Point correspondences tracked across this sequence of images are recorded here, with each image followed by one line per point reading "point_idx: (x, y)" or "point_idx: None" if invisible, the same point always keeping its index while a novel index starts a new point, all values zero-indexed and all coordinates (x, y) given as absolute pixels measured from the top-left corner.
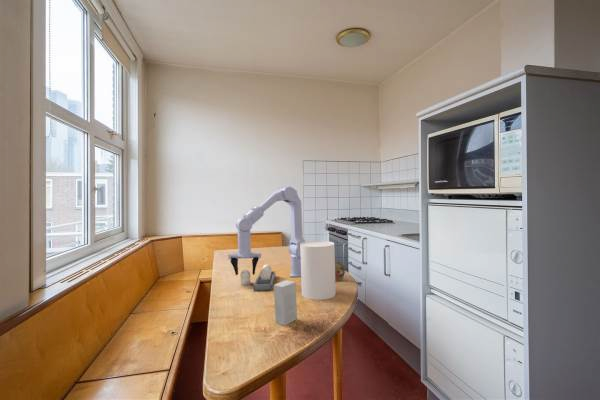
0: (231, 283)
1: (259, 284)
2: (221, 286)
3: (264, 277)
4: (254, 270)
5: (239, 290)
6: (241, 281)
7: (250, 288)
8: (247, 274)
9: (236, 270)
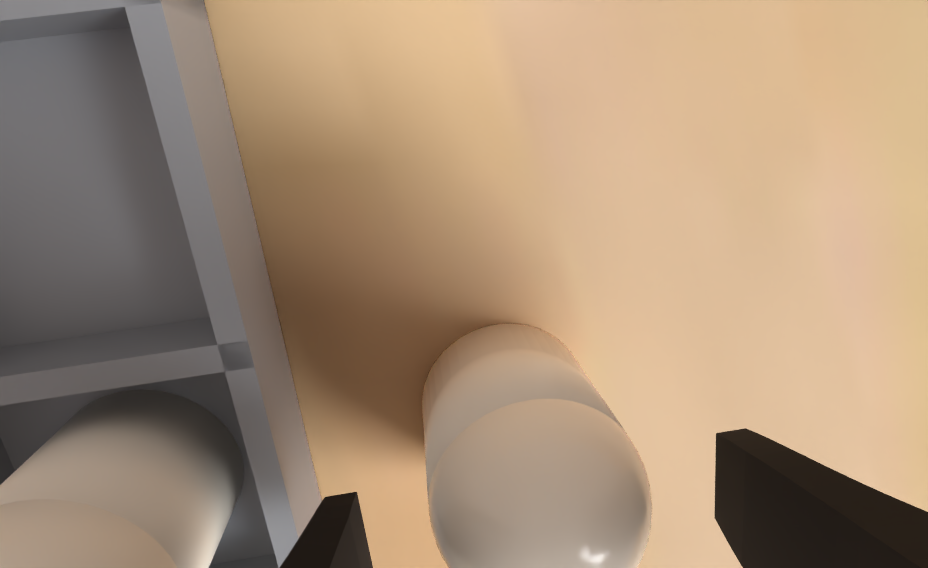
0: (743, 393)
1: (12, 11)
2: (875, 238)
3: (70, 451)
4: (282, 566)
5: (506, 25)
6: (574, 365)
7: (330, 152)
8: (471, 454)
9: (796, 483)
